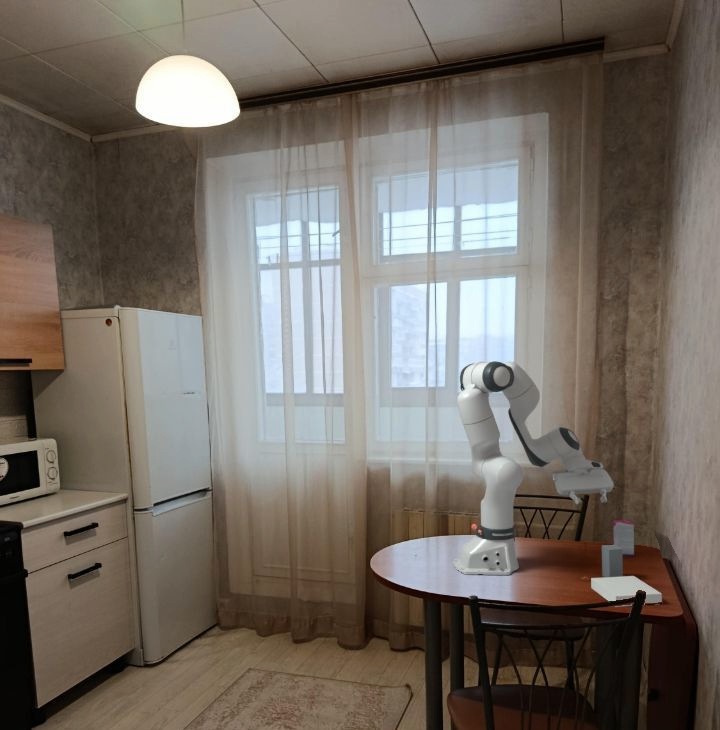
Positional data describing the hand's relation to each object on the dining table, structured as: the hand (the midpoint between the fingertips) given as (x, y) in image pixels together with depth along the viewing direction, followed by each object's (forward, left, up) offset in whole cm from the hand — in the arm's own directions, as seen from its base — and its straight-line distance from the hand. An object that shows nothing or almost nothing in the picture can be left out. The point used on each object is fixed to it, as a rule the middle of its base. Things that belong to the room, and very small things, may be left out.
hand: (591, 502), depth 194 cm
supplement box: (+17, +9, -22) cm, 29 cm away
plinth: (-4, -27, -21) cm, 35 cm away
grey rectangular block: (0, -13, -22) cm, 25 cm away
